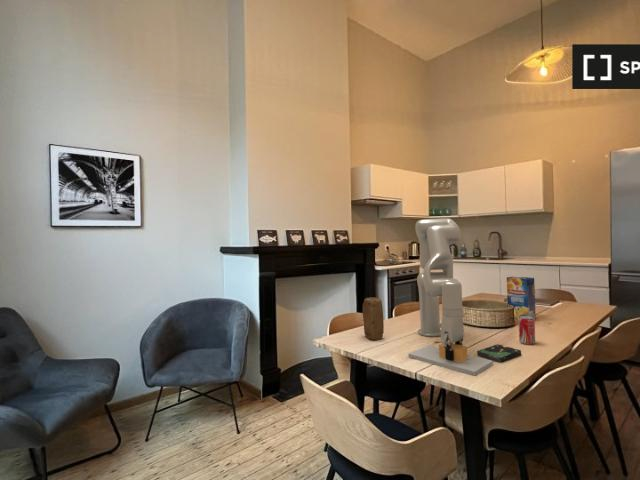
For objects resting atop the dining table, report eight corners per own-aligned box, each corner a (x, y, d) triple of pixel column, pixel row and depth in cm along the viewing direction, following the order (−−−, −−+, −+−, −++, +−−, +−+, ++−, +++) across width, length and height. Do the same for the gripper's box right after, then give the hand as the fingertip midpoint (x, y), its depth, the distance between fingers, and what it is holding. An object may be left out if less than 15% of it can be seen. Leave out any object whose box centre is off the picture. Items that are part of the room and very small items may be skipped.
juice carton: (535, 319, 195) (534, 277, 195) (528, 321, 192) (527, 279, 192) (514, 315, 206) (513, 276, 206) (507, 317, 202) (506, 277, 202)
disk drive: (497, 350, 149) (476, 357, 141) (497, 343, 149) (476, 350, 141) (521, 356, 140) (501, 364, 132) (521, 350, 140) (501, 357, 132)
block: (385, 339, 169) (383, 299, 169) (372, 341, 166) (370, 300, 166) (374, 334, 179) (373, 295, 179) (361, 335, 176) (360, 297, 176)
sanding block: (445, 354, 141) (444, 341, 141) (467, 358, 135) (467, 346, 134) (439, 357, 137) (439, 345, 137) (462, 362, 130) (461, 349, 130)
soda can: (530, 346, 151) (529, 319, 151) (516, 342, 156) (515, 316, 156) (538, 343, 154) (537, 317, 154) (524, 340, 159) (523, 314, 159)
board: (428, 348, 153) (428, 345, 153) (492, 364, 131) (492, 360, 131) (408, 357, 143) (408, 353, 143) (474, 376, 122) (474, 371, 122)
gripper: (454, 307, 144) (455, 350, 144) (431, 314, 133) (433, 360, 133) (472, 310, 138) (473, 354, 138) (450, 317, 127) (451, 366, 127)
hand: (453, 357), depth 135 cm, fingers closed on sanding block, 5 cm apart
